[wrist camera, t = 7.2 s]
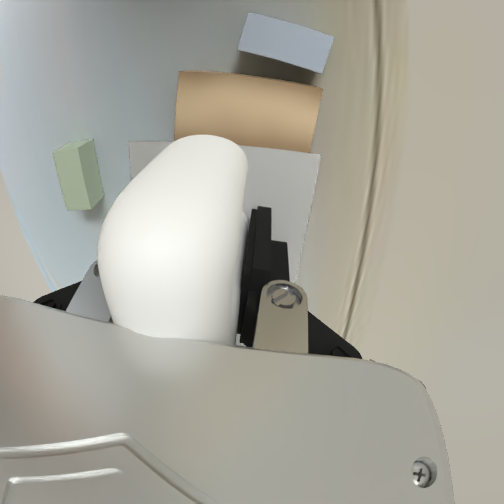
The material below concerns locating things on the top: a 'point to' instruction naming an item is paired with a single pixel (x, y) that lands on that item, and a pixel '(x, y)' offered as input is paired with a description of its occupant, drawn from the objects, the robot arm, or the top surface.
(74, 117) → the top surface
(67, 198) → the brick sage
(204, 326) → the figurine
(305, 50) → the brick slate
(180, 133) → the oak pedestal
